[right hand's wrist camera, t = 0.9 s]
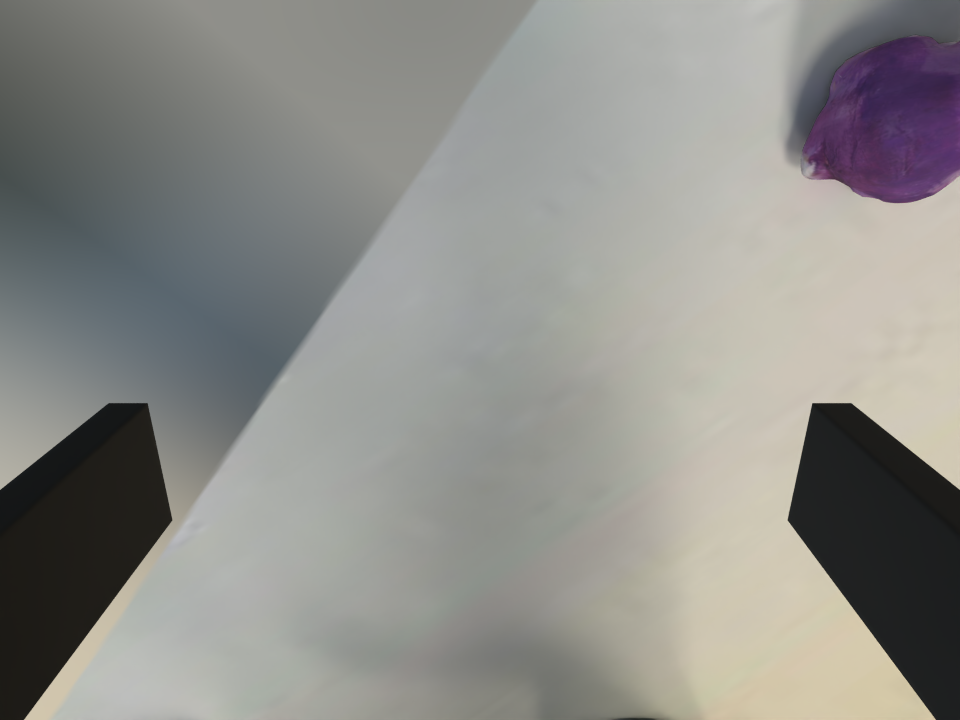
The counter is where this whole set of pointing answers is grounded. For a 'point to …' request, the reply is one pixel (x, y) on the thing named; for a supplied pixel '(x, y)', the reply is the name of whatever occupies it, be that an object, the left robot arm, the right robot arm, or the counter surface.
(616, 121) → the counter surface
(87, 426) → the right robot arm
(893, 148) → the figurine
